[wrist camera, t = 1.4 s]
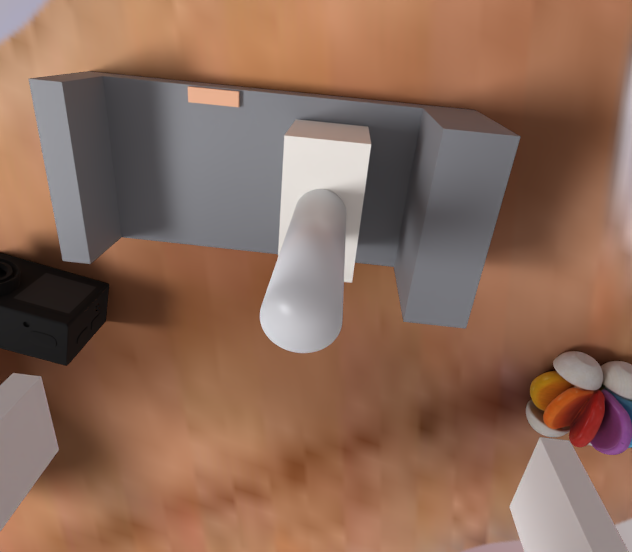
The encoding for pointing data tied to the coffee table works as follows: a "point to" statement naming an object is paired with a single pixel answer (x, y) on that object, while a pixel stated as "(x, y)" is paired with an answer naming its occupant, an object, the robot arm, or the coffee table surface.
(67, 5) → the coffee table surface
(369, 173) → the bench clamp
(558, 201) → the coffee table surface
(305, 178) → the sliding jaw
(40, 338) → the digital camera
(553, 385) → the rainbow disc rattle
